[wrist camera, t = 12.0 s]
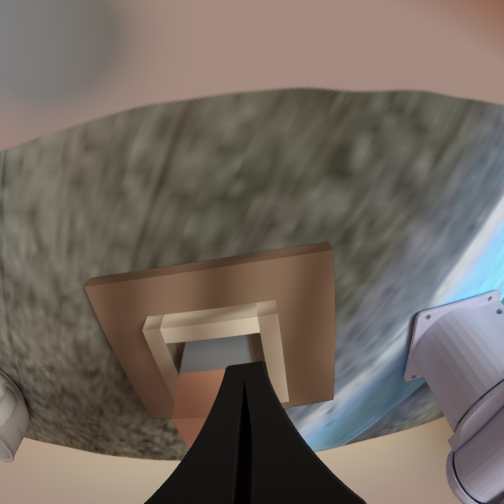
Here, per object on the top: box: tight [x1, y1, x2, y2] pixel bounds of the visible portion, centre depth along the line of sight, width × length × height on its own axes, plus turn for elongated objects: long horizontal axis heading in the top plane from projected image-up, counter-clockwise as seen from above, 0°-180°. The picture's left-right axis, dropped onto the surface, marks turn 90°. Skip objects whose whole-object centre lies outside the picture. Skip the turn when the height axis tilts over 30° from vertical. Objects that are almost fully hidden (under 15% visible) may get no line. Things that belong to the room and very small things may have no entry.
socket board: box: [85, 242, 335, 419], centre depth 22 cm, size 16×14×3 cm
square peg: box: [172, 334, 252, 449], centre depth 18 cm, size 4×4×7 cm
